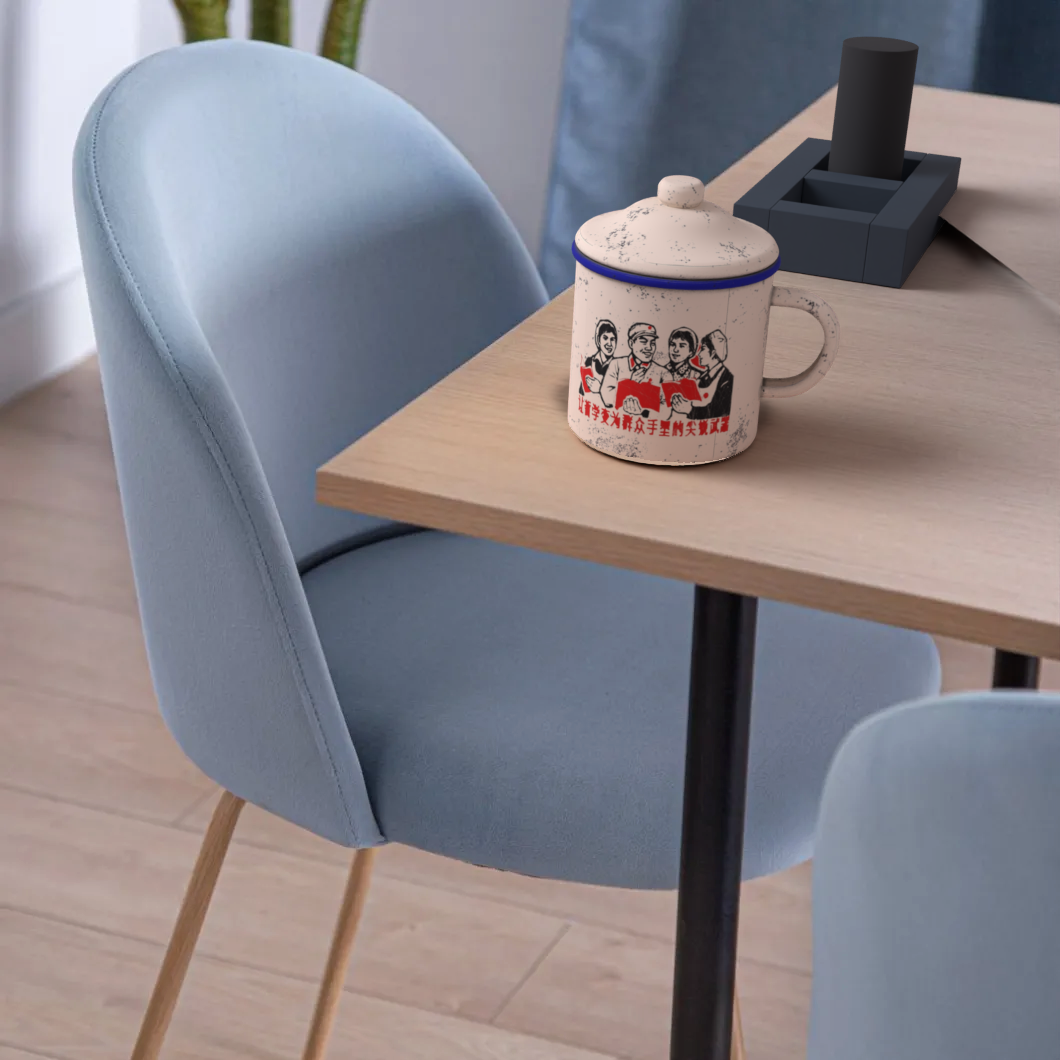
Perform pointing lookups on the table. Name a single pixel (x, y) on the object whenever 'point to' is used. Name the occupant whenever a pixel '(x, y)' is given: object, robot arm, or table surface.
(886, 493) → the table surface
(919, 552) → the table surface
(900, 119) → the black cylinder
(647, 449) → the teacup with lid
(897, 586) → the table surface
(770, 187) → the divided rectangular tray
